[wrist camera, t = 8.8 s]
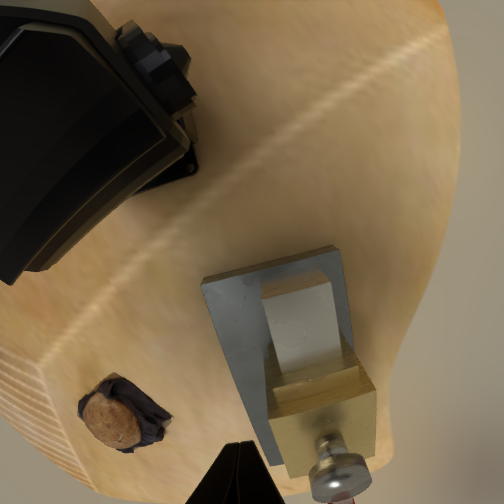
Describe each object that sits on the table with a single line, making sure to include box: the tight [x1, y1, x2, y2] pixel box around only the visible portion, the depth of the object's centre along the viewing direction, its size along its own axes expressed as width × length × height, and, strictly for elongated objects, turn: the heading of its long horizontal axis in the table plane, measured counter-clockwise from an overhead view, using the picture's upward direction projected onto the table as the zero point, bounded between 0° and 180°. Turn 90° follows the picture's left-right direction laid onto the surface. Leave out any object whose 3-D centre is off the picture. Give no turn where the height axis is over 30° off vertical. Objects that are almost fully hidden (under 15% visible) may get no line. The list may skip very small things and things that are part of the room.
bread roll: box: [77, 373, 174, 453], centre depth 21 cm, size 11×8×4 cm
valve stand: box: [201, 245, 376, 479], centre depth 17 cm, size 9×20×9 cm, turn 14°
